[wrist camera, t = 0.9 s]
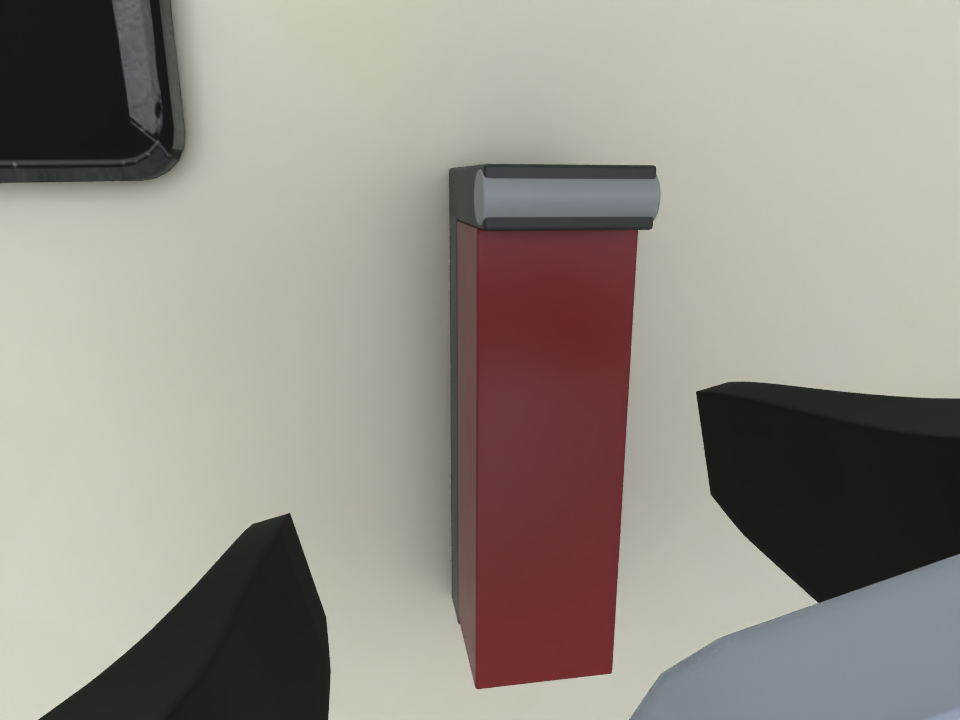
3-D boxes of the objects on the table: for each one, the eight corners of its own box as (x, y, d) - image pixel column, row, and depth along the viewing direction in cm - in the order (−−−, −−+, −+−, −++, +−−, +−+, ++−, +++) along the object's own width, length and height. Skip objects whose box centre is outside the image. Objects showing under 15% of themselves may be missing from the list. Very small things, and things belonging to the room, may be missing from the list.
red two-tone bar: (563, 586, 23) (627, 710, 17) (450, 597, 22) (480, 729, 17) (579, 168, 20) (663, 164, 14) (447, 168, 19) (483, 163, 14)
